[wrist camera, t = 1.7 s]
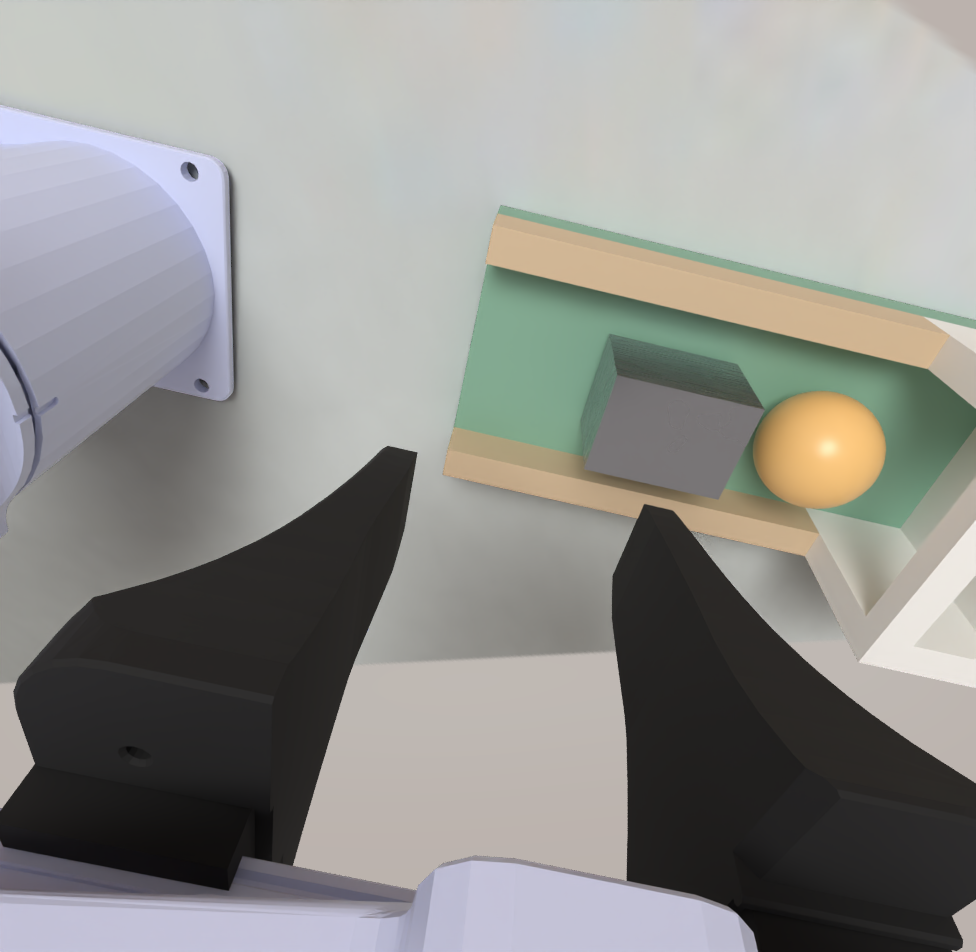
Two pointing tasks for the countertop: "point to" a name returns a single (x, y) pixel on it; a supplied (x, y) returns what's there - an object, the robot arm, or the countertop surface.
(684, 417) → the block
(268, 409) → the countertop surface
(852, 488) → the ball
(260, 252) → the countertop surface
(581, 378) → the pitch
